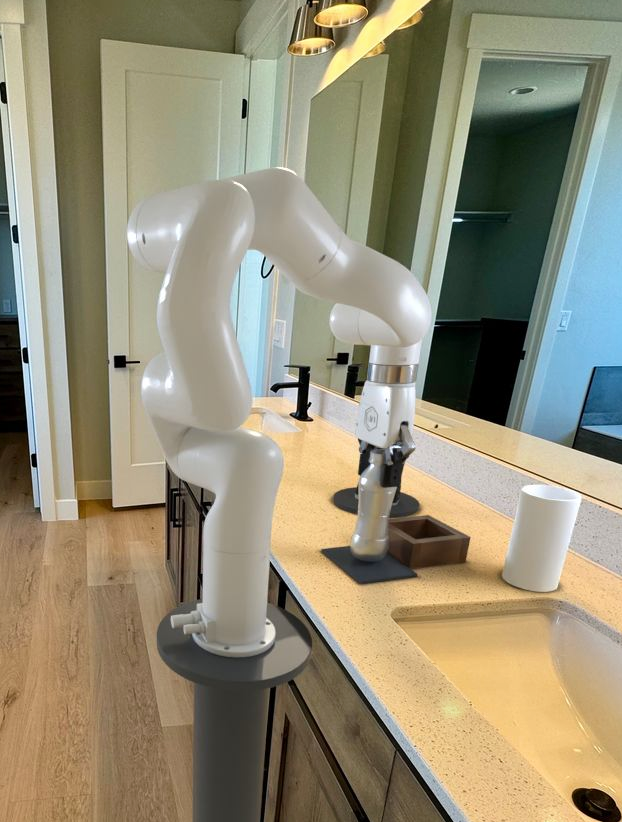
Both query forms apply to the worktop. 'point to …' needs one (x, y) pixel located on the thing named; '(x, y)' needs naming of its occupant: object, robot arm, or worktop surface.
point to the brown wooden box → (425, 542)
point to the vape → (399, 507)
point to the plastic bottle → (372, 512)
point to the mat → (368, 566)
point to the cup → (540, 537)
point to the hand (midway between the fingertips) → (377, 479)
